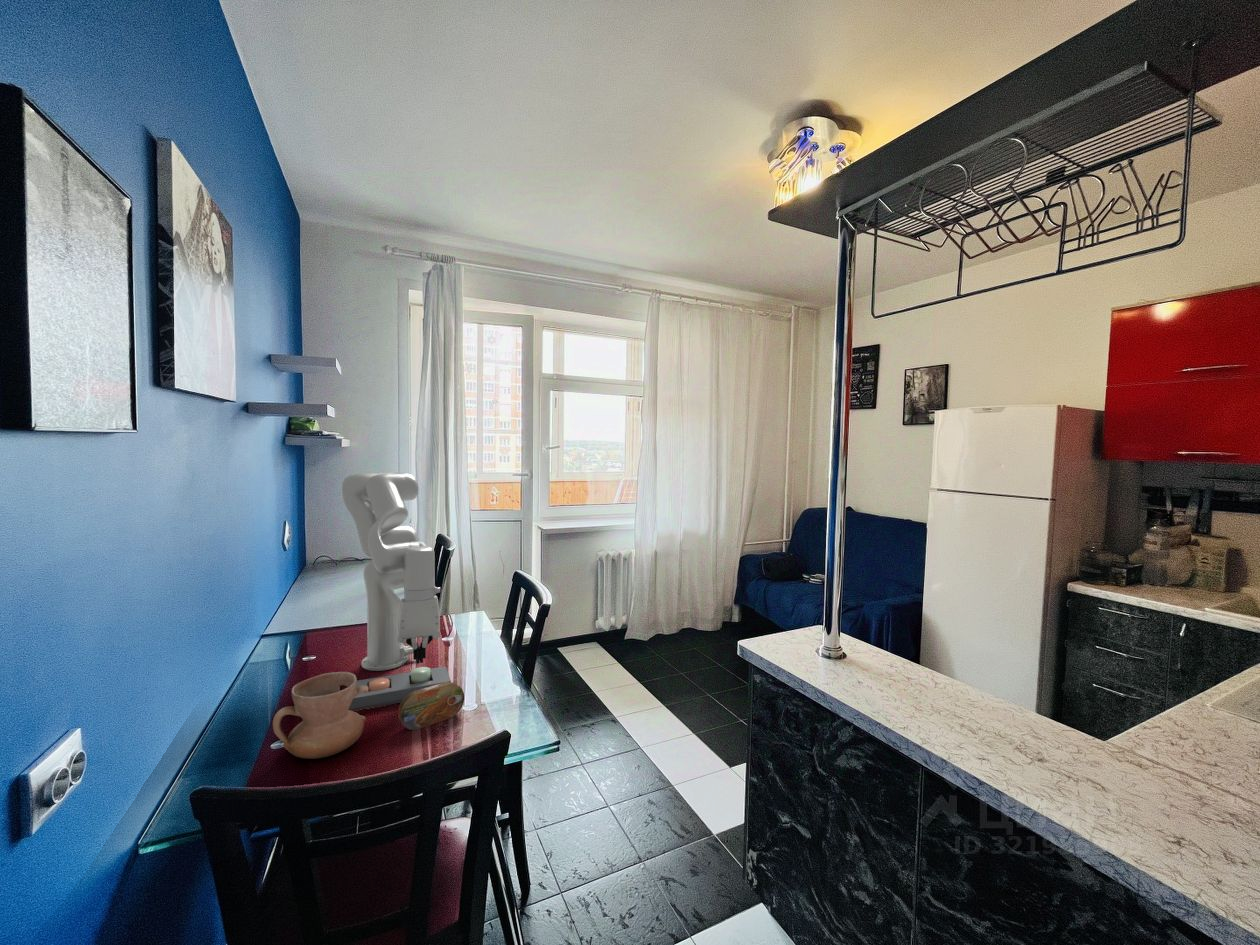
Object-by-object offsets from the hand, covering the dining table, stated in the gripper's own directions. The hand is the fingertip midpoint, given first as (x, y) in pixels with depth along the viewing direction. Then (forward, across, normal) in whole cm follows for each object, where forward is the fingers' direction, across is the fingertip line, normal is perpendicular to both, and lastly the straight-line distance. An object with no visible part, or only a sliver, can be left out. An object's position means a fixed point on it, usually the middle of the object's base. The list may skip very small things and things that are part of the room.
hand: (419, 661), depth 138 cm
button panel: (+8, +5, 0) cm, 9 cm away
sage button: (+6, 0, 0) cm, 6 cm away
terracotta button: (+7, +10, 0) cm, 12 cm away
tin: (+9, -2, +17) cm, 19 cm away
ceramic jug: (+9, +21, +19) cm, 29 cm away
